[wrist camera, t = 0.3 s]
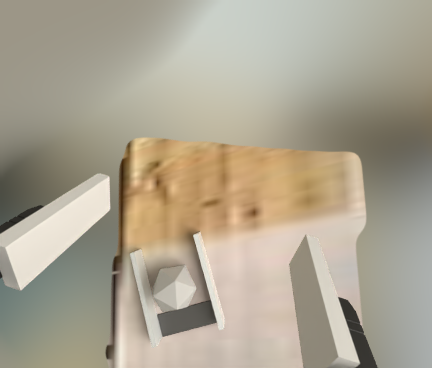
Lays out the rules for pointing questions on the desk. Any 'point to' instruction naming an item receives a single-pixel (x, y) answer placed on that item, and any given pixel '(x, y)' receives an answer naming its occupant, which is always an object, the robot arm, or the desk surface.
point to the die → (173, 288)
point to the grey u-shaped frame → (181, 317)
